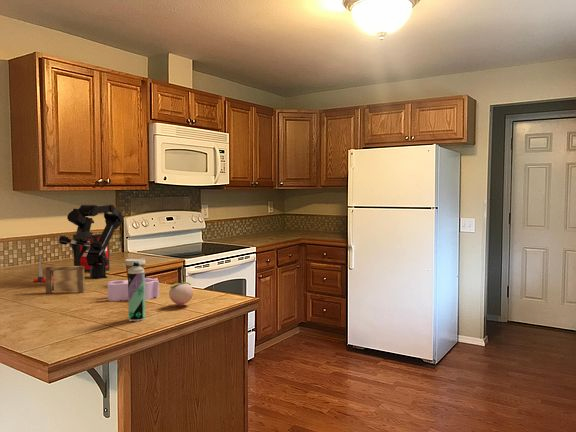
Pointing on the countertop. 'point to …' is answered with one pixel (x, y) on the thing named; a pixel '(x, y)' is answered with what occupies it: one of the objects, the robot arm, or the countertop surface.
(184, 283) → the decorative fruit
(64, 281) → the door
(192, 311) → the countertop surface
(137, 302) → the spray can
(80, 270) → the frame
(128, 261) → the disposable coffee cup
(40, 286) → the countertop surface
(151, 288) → the clip
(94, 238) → the cleaning product box
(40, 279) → the tow hook
